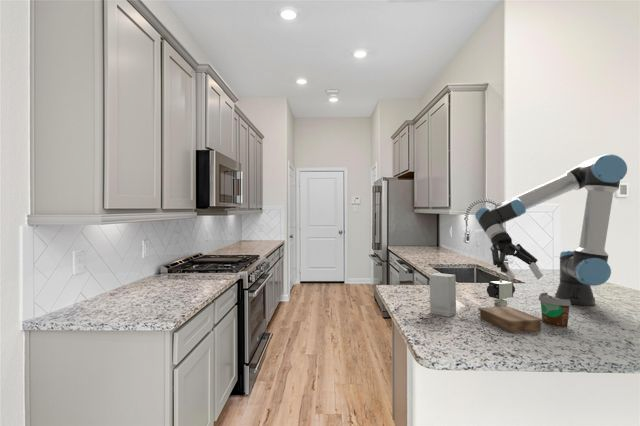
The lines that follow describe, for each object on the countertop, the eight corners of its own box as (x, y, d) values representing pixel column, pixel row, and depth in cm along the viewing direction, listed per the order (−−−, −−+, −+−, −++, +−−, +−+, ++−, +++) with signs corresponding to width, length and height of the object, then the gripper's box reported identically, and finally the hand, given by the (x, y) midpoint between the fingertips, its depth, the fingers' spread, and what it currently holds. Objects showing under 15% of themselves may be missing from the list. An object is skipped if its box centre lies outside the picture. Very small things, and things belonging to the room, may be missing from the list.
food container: (530, 318, 139) (531, 292, 139) (545, 318, 140) (546, 292, 140) (554, 329, 127) (554, 300, 127) (570, 328, 128) (571, 300, 127)
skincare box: (456, 314, 144) (457, 274, 144) (449, 317, 139) (449, 276, 139) (436, 310, 149) (436, 272, 149) (428, 313, 144) (429, 274, 144)
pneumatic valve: (515, 308, 154) (515, 279, 154) (495, 310, 149) (495, 281, 149) (503, 304, 159) (504, 277, 159) (484, 307, 154) (484, 279, 154)
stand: (508, 316, 141) (508, 306, 141) (543, 331, 124) (543, 319, 124) (478, 318, 139) (478, 307, 139) (509, 333, 122) (509, 321, 122)
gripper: (517, 242, 164) (545, 282, 150) (470, 242, 157) (494, 284, 143) (527, 231, 159) (557, 271, 144) (478, 231, 152) (505, 273, 138)
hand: (526, 278), depth 144 cm, fingers open, 13 cm apart
